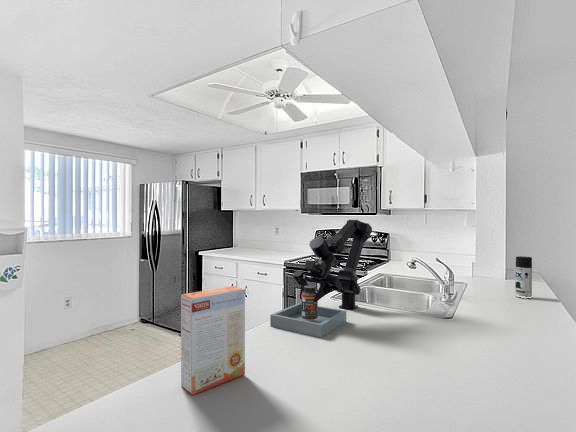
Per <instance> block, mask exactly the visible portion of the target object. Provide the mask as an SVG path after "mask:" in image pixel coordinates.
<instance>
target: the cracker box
mask: <svg viewBox="0 0 576 432" xmlns="http://www.w3.org/2000/svg"><path fill="white" fill-rule="evenodd" d="M245 301H246V289H244V288H240V287H237V286H235V285H229V286H224V287H219V288H212V289H207V290H202V291H194V292H189V293H182V294H181V295H180V386H181V387H182V388H183V389H184V390H186V391H187V392H188V393H189V394H190V395H191V396H194V395H196V394H199V393H201V392H203V391H207V390H210V389H213V388H215V387H216V386H219V385H222V384H225V383H227V382H229V381H232V380H235V379H238V378H240V377H242V376H244V375H246V308H245V307H246V302H245Z"/></svg>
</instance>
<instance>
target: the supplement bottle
mask: <svg viewBox="0 0 576 432" xmlns="http://www.w3.org/2000/svg"><path fill="white" fill-rule="evenodd" d="M317 292H318V291H316V286H315V285H310V284H308V286H304V292H303V293H302V296H301V299H300V301H301V302H300V303H301V317H302V318H303V319H306V320H314V319H316V318H317V317H318V306H319V302H318V301H319V300H318V301H317V302H315V301H314V299H315V296H316V294H317Z"/></svg>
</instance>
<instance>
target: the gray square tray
mask: <svg viewBox="0 0 576 432" xmlns="http://www.w3.org/2000/svg"><path fill="white" fill-rule="evenodd" d="M269 319H270V320H269V321H270V323H269V324H270V327H272V328H277V329H280V330H281V329H282V330H286V331H291V332H295V333H298V334H299V333H300V334H302V335H303V334H304V335H307V336H312V337H314V338H315V337H316V338H323V337H325V336H326V335H328V334H330V333H331V332H332V331H334V330H336V329H337V328H339V327H340V326H342V325H343V324H345V323H346V322H347V310H343V309H337V308H333V307H327V306H326V307H325V306H322V305H321V306H319V305H318V317H317V318H316V319H314V320H306V319H303V318H302V317H301V302H298V303H296V304H294V305H291V306H289V307H287V308H284V309H281V310H279V311H276V312H274V313H273V312H272V313H271V314H270V317H269Z"/></svg>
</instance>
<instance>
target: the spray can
mask: <svg viewBox="0 0 576 432" xmlns="http://www.w3.org/2000/svg"><path fill="white" fill-rule="evenodd" d="M514 287H515V290H514V291H515V292H514V293H515V294H516V295H519V296H525V297H531V296H533V294H532V293H533V258H532V256H515V286H514ZM515 294H514V295H515Z"/></svg>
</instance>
